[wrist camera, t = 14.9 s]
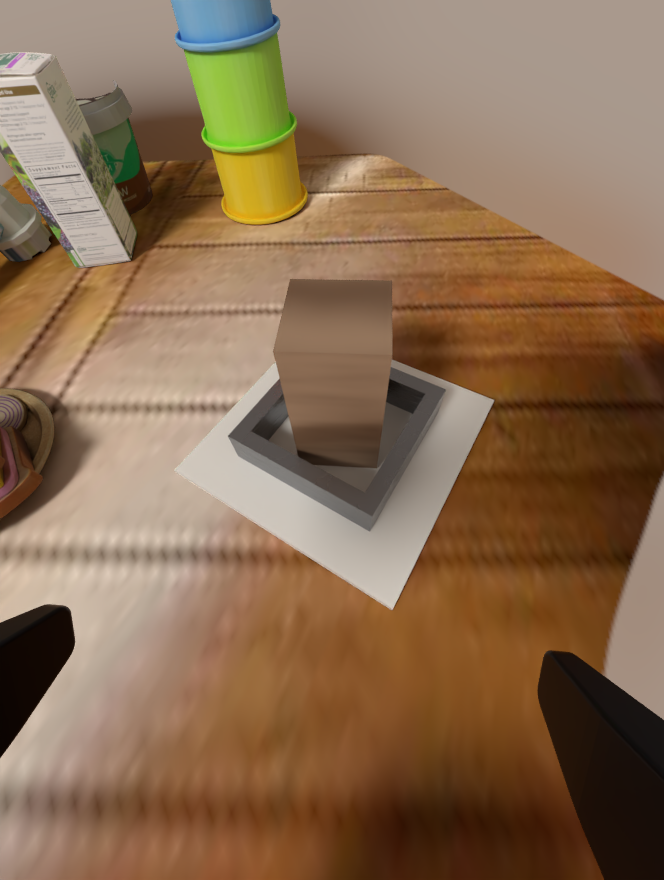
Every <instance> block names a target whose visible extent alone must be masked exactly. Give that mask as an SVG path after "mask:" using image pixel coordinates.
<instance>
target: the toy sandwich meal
mask: <svg viewBox="0 0 664 880" xmlns="http://www.w3.org/2000/svg"><path fill="white" fill-rule="evenodd" d="M53 439H54V421H53V417H52V414H51V412H50V410H49V408H48V407H47V405H46V404H45V403H44V402H43V401H42V400H41V399H39V398H38V397H36V396H35V395H33V394H31V393H28V392H25V391H21V390H16V389H0V519H1V518H2V517H4V516H5V515H6V514H8V513H9V512H10V511H12V510H13V509H14V508H15V507H17V506H18V505H19V504H20V503H21V502H23V501H24V500H25V499H26V498H27V497H28V496H29V495H30V494H31V493H32V492H33V491H34V490H35V489H36V488H37V487H38V486H39V485H40V483H41V482H42V479H43V477H42V476H41V475H40V472H41V470H42V469H43V467H44V465H45V463H46V461H47V458H48V455H49V453H50V450H51V447H52V444H53Z"/></svg>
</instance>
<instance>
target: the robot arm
mask: <svg viewBox="0 0 664 880" xmlns="http://www.w3.org/2000/svg"><path fill="white" fill-rule="evenodd" d="M74 646H75V636H74V629H73V622H72V616H71V611H70V609H69V608H68V607H66V606H63V605H52V604H47V605H43V606H40V607H38V608H35V609H33V610H30V611H28V612H25V613H23V614H21V615H18V616H16V617H13V618H11V619H8V620H6V621H3V622H1V623H0V758H1V756H2V755H3V754H4V752H5V751H6V750H7V748H8V747H9V746H10V744H11V743H12V742H13V740H14V739H15V737H16V736H17V734H18V733H19V732H20V730H21V729H22V727H23V726H24V724H25V723H26V721H27V720H28V718H29V717H30V715H31V714H32V712H33V711H34V709H35V708H36V706H37V705H38V703H39V702H40V701H41V699H42V698H43V696H44V695H45V693H46V692H47V690H48V689H49V687H50V686H51V684H52V683H53V681H54V680H55V678H56V677H57V675H58V674H59V672H60V671H61V669H62V668H63V666H64V665H65V663H66V662H67V660H68V659H69V657H70V656H71V654H72V652H73V649H74ZM538 699H539V703H540V707H541V710H542V713H543V716H544V719H545V722H546V725H547V728H548V731H549V733H550V736H551V739H552V742H553V745H554V748H555V751H556V754H557V757H558V760H559V763H560V766H561V769H562V772H563V775H564V778H565V781H566V784H567V787H568V790H569V793H570V796H571V799H572V802H573V804H574V807H575V810H576V813H577V815H578V818H579V820H580V823H581V825H582V828H583V830H584V833H585V835H586V837H587V840H588V842H589V844H590V847H591V849H592V851H593V854H594V856H595V858H596V861H597V863H598V866H599V868H600V870H601V873H602V875H603V877H604V880H664V720H663V719H662V718H660V717H659V716H657V715H656V714H655V713H653V712H652V711H651V710H649V709H648V708H647V707H645V706H644V705H643V704H641V703H640V702H638V701H637V700H636V699H634V698H633V697H632V696H630V695H629V694H628V693H626V692H625V691H624V690H622V689H621V688H619V687H618V686H617V685H615V684H614V683H613V682H611V681H610V680H609V679H607V678H606V677H605V676H603V675H602V674H600V673H599V672H598V671H596V670H595V669H594V668H592V667H591V666H590V665H588V664H587V663H586V662H584V661H583V660H581V659H580V658H579V657H577V656H576V655H574V654H573V653H570V652H562V651H547V652H546V653H545V655H544V657H543V662H542V667H541V672H540V678H539V683H538Z"/></svg>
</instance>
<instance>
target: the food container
mask: <svg viewBox="0 0 664 880" xmlns="http://www.w3.org/2000/svg"><path fill="white" fill-rule="evenodd" d="M113 82H114V85H115V90H114V91H113V92H112V93H108V94H106V95H103V96H99V97H95V98H90V99H76V101H77V103H78V105H79V108H80V110H81V112H82V114H83V116H84V118H85V120H86V123H87V125H88V127H89V129H90V131H91V133H92V135H93V137H94V140H95V142H96V144H97V146H98V148H99V150H100V152H101V155H102V157H103V159H104V161H105V163H106V165H107V168H108V170H109V172H110V174H111V176H112V178H113V180H114V183H115V185H116V187H117V189H118V191H119V194H120V196H121V198H122V200H123V202H124V204H125V206H126V208H127V211H128V213H129V215H130V214H132V213H135V212H137V211H139V210H140V209H142V208H143V207H145V206H146V205H147V204H148V203H149V202H150V200H151V199H152V190H151V187H150V184H149V181H148V178H147V174H146V171H145V168H144V165H143V162H142V159H141V156H140V152H139V149H138V146H137V143H136V140H135V137H134V133H133V130H132V127H131V124H130V121H129V118H128V117H129V116H130V115H131V113H132V107H131V106H130V104H129V102H128V100H127V98H126V97H125V95H124V93H123V91H122V90H121V89H120V88H118V85H117V84H116V82H115V81H114V80H113Z"/></svg>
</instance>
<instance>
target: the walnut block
mask: <svg viewBox="0 0 664 880" xmlns="http://www.w3.org/2000/svg"><path fill="white" fill-rule="evenodd" d="M273 353H274V357H275V361H276V365H277V369H278V374H279V378H280V382H281V386H282V390H283V395H284V399H285V403H286V407H287V411H288V415H289V420H290V424H291V428H292V432H293V436H294V441H295V445H296V449H297V453H298V457H300V458H301V459H303V460H305V461H307V462H309V463H311V464H313V465H324V466H342V467H360V468H377V463H378V456H379V449H380V442H381V434H382V427H383V420H384V413H385V405H386V398H387V391H388V384H389V376H390V369H391V362H392V281H377V280H311V279H290V282H289V287H288V291H287V295H286V299H285V304H284V308H283V312H282V316H281V320H280V325H279V329H278V333H277V337H276V342H275V346H274V350H273Z"/></svg>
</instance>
